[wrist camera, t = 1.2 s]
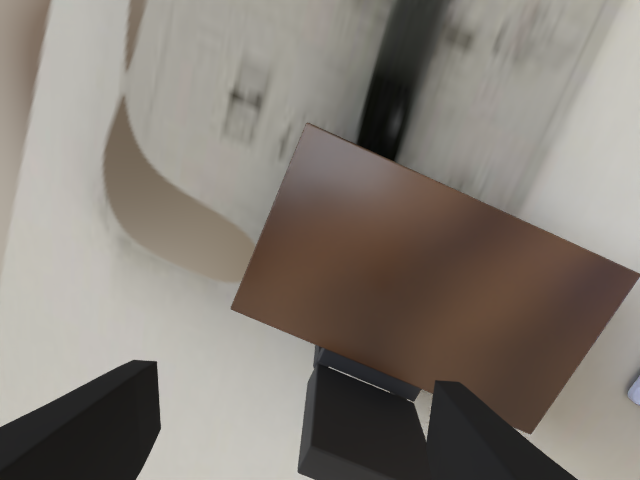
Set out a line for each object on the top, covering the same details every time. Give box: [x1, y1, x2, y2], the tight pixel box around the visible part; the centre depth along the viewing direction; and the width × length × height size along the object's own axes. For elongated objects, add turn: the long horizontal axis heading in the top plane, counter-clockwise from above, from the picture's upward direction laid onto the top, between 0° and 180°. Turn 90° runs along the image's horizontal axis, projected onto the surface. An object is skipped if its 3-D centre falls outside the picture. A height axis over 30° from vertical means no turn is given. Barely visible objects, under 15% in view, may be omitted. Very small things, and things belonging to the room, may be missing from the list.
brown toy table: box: [231, 123, 640, 434], centre depth 16 cm, size 14×8×4 cm, turn 66°
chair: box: [298, 345, 432, 480], centre depth 16 cm, size 5×6×8 cm
